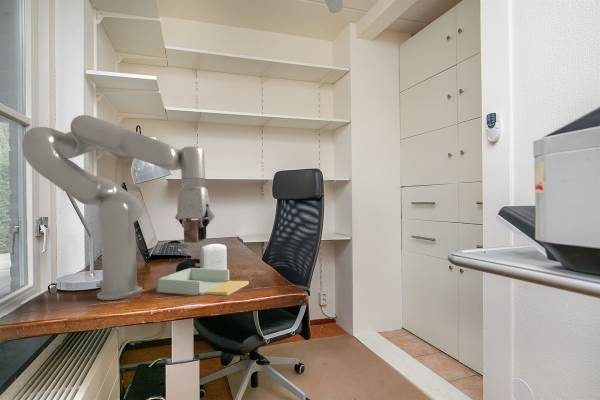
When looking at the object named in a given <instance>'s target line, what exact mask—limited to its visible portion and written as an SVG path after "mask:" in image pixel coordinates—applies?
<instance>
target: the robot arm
mask: <svg viewBox="0 0 600 400" xmlns="http://www.w3.org/2000/svg"><path fill="white" fill-rule="evenodd" d="M69 125H70V131H68V132H66V133H65V132H62V131H60V130H58V129H54V128H51V127H47V126H36V127H32V128H30V129H28V130H27V131H26V132H25V133H24V134H23V138H22V140H21V149H22V153H23V156H24V158H25V160H26V162H27V163H28V164H29V165H30V166H31V168H32V169H34V171H36V172H37V173H39V174H40V175H41V176H42V177H44V179H47V180H48V181H49V182H50V183H52V184H54V185H55V186H56V187H58V189H60V190H62V191H63V192H65V193H66V194H68V195H69V196H70V197H72V198H74V199H75V200H76V201H78V202H79V203H80V204H83V205H88V206H98V209H97V210H98V211H97V217H98V222H99V226H100V227H99V228H100V229H99V230H100V236H101V237H100V241H101V264H102V265H101V267H102V272H101V273H102V279H101V280H100V281H99V282H97V283H96V284H95V286H96V288H100V291H99V292H98V293H97V294H96V296H97V297H96V298H97V299H98V300H101V301H102V300H103V301H112V300H116V301H117V300H121V299H127V298H132V297H134V296H136V295H139V294H141V293H142V292H143V287H142V286H139V285H138V278H137V273H138V272H137V271H138V270H137V240H136V229H135V224H134V223H135V222H137V221H138V220H140V219H141V218H142V216H143V212H144V207H143V204H142V202H141V201H140V200H139V199H138V198H137V197H135V195H133V194H131V193H130V192H129V191H127V190H126V189H124V188H123V187H122V186H120V185H119V184H117V183H116V182H114V181H112V180H111V179H109V178H106V177H104V176H98V175H94V174H92V173H90V172H88V171H86V170H85V169H83V168H82V167H80V166H79V165H78V164H77V163H75V162H74V161H72V160H70V159H73V158H76V157H79V156H83V155H84V154H88V153H90V152H93V151H95V150H98V149H103V150H105V151H108V152H112V153H114V154H117V155H120V156H123V157H130V158H134V159H137V160H140V161H142V162H146V163H148V164H151V165H154V166H155V167H159V168H162V169H163V170H166V171H177V170H180V172H181V173H180V176H181V181H179V186H181V188H179V191H178V195H177V209H176V210H177V211H176V212H177V214H175V219H176V221H178V223H179V224H181V227H182V228H183V229H184V221H188V220H198V221H199V225H200V228H199V240H203V239H206V240H207V227H209V225H210V223H211V222H212V221H213V220H214V219H215V215H214V213H213V212H212V210H211V203H210V202H211V201H210V197H209V196H210V195H209V191H208V188H206V165H205V164H206V162H205V157H206V156H205V150H204V149H203V148H202V147H199V146H185V147H182V148H181V149H180V148H179V149H178V148H176V147H173V146H172V145H170V144H168V143H166V142H164V141H160V140H158V139H156V138H152V137H149V136H146V135H144V134H142V133H139V132H136V131H134V130H130V129H127V128H124V127H122V126H120V125H116V124H114V123H111V122H108V121H105V120H103V119H100V118H98V117H95V116H91V115H87V114H86V115H85V114H82V115H78V116H75V117H73V119H72V120H71V122H70V124H69Z"/></svg>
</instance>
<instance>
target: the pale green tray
mask: <svg viewBox="0 0 600 400" xmlns="http://www.w3.org/2000/svg"><path fill="white" fill-rule="evenodd" d="M227 281H232V280H231V279H230V269H227V270H225V269H205V268H201V267H200V268H188V269H185V270H182V271H179V272H176V271H175V272H173V273H171V274H170V273H169V274H168V275H165V276H162V277H159V278H156V279H155V282H156V283H155V286H156V287H155V288H156V289H155V290H156V293H163V294H164V293H167V294H176V295H177V294H179V295H191V296H203V295H205V294H204V292H205V291H207V290H210V289H212V288H214V287H216V286H218V285H220V284H222V283H225V282H227Z"/></svg>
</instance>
